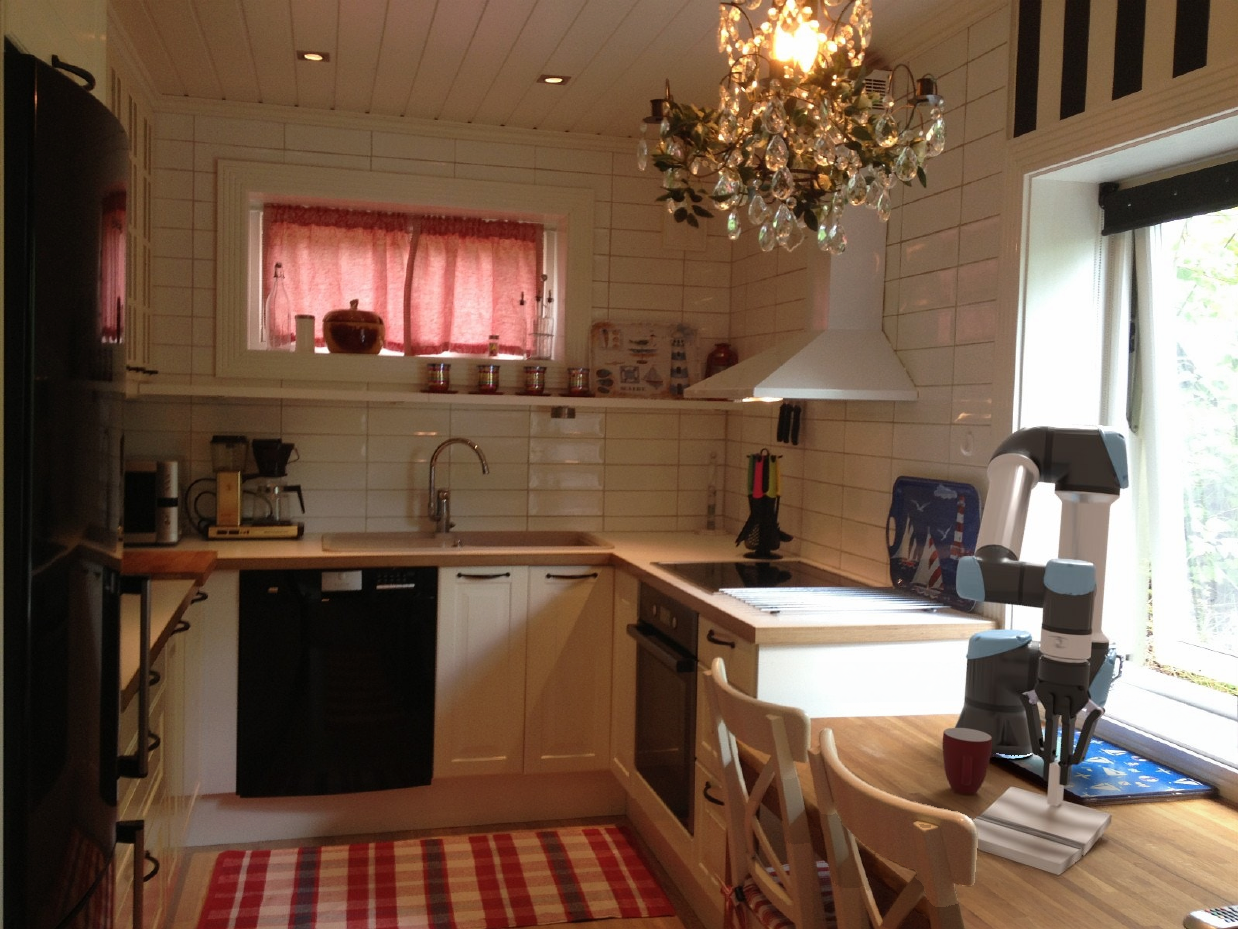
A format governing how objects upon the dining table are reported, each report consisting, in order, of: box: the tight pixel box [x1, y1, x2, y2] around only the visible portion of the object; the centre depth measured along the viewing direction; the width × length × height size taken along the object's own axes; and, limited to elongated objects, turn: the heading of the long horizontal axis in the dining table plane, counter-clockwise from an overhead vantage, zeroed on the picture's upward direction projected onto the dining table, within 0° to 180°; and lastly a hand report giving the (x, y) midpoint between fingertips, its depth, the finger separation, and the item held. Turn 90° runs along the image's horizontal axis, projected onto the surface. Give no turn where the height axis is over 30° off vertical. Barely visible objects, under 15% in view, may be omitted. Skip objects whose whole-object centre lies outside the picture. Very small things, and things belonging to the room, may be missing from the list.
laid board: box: [972, 815, 1082, 876], centre depth 162 cm, size 9×16×2 cm, turn 48°
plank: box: [979, 785, 1112, 857], centre depth 171 cm, size 12×16×2 cm
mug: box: [942, 727, 992, 796], centre depth 186 cm, size 11×8×10 cm
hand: (1054, 803), depth 173 cm, fingers closed
